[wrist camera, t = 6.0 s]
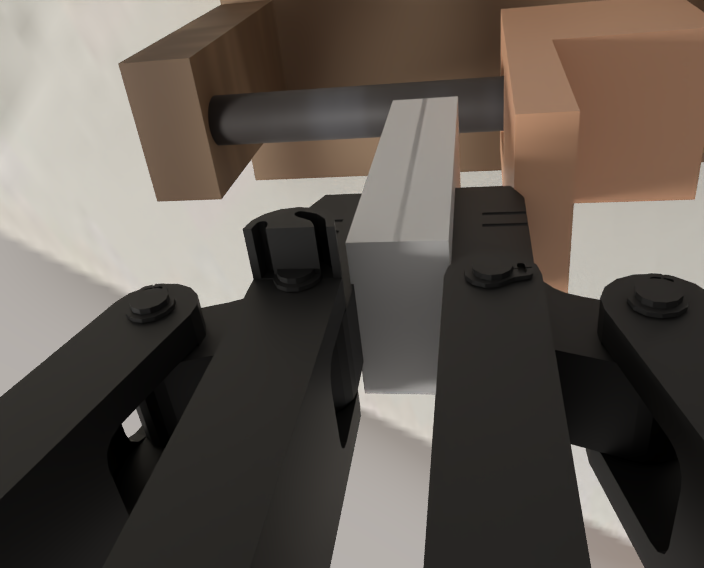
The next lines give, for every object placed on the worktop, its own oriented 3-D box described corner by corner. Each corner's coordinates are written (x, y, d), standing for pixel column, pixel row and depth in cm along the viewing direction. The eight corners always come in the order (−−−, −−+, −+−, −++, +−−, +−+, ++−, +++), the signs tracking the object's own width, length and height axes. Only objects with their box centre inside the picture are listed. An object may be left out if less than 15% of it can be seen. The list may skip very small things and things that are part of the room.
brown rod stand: (902, -175, 20) (1220, -198, 12) (819, 141, 26) (996, 290, 17) (216, -91, 25) (71, -61, 16) (265, 166, 30) (175, 295, 21)
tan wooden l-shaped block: (677, -7, 18) (825, 97, 10) (657, 141, 20) (769, 317, 12) (500, 9, 18) (515, 114, 11) (499, 148, 20) (512, 317, 13)
